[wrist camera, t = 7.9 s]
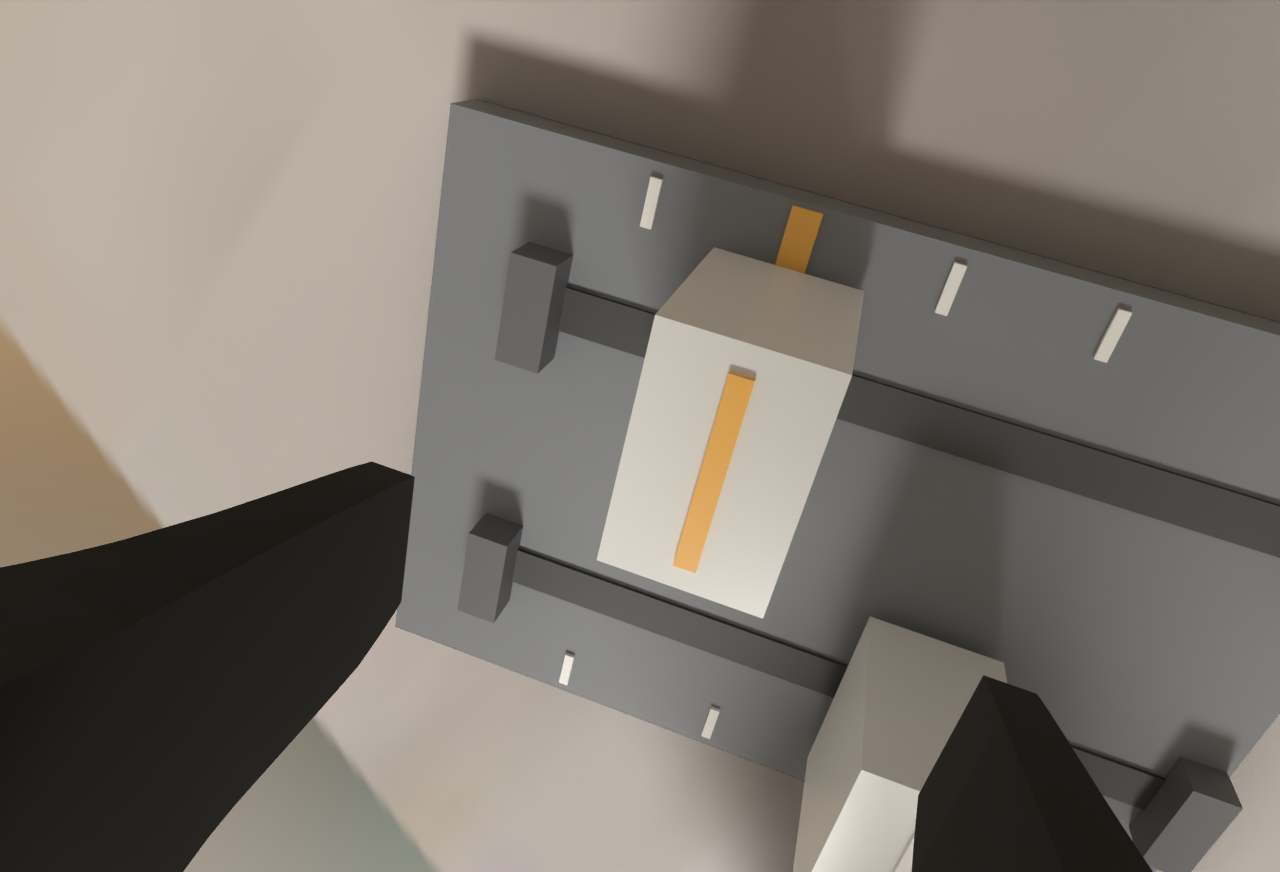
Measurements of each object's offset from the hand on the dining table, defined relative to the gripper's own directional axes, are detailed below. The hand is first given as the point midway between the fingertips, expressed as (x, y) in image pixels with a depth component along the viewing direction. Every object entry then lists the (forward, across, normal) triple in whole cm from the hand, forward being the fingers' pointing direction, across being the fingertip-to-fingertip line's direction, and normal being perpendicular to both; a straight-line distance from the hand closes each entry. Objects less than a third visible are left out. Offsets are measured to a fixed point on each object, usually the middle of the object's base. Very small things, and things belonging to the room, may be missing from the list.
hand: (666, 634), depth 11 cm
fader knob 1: (+8, 0, 0) cm, 8 cm away
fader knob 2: (+8, -5, +7) cm, 12 cm away
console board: (+10, -2, +3) cm, 11 cm away
